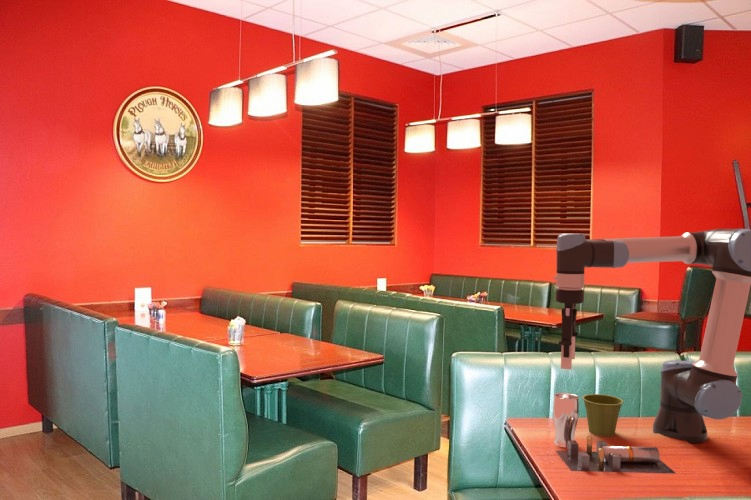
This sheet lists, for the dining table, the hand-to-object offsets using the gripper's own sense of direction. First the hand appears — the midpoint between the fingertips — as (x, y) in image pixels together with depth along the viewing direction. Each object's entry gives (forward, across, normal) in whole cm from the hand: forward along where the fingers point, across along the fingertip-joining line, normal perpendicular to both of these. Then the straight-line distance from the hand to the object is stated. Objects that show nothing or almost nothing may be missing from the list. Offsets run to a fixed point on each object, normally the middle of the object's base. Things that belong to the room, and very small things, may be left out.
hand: (568, 363), depth 174 cm
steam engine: (+25, +6, +12) cm, 29 cm away
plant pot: (+26, -19, +9) cm, 33 cm away
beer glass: (+25, -3, -1) cm, 25 cm away
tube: (+24, +4, +17) cm, 30 cm away
